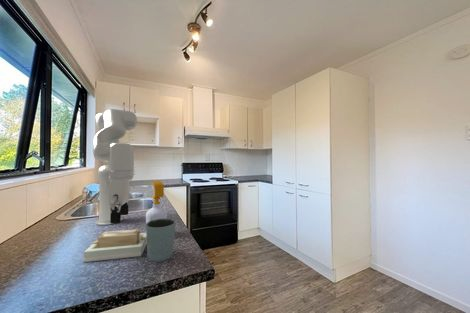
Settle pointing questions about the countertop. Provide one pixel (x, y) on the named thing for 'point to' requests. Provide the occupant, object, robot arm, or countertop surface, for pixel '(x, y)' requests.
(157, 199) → the soap bottle
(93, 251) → the cream rectangular tray
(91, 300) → the countertop surface
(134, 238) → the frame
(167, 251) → the teal embossed pot
